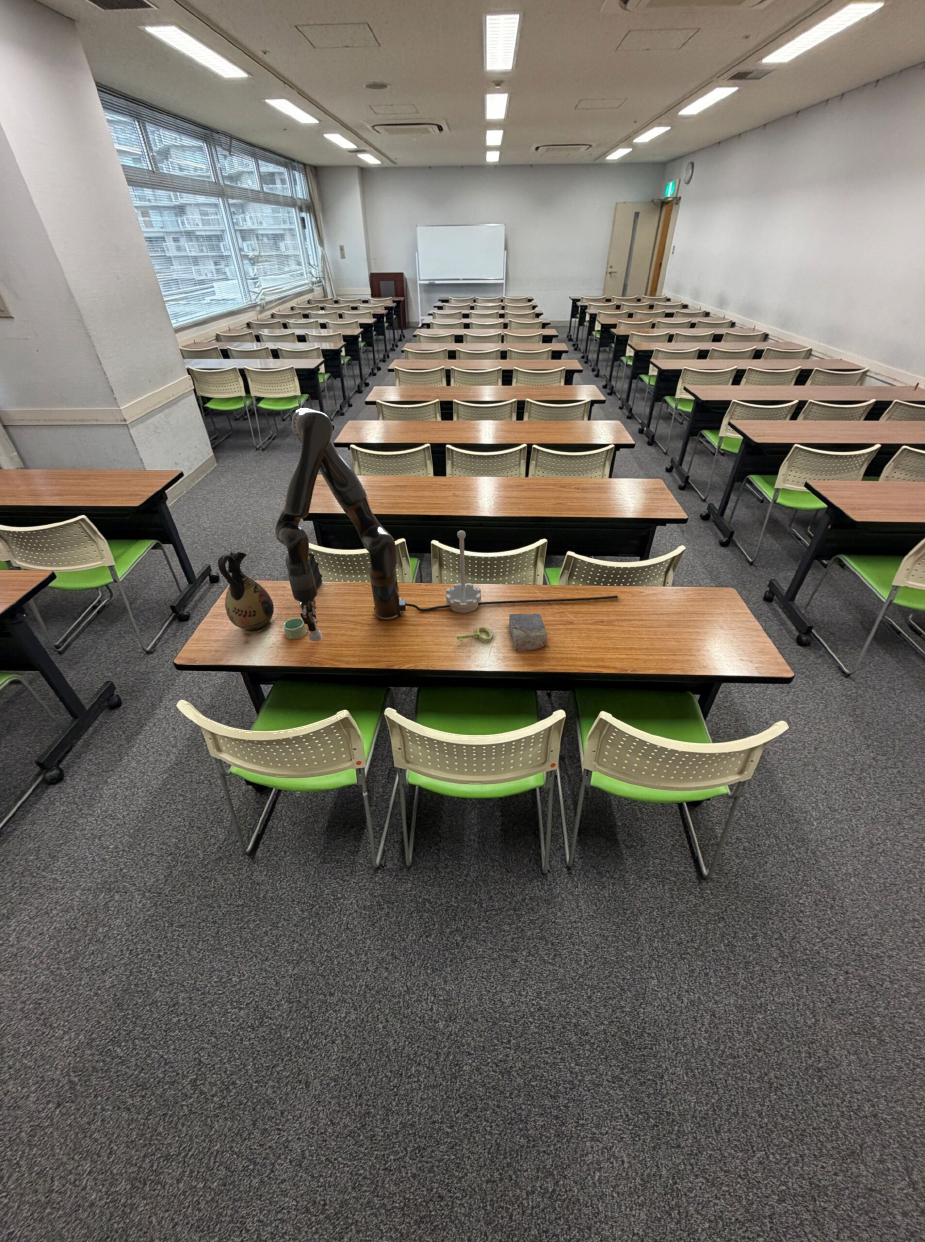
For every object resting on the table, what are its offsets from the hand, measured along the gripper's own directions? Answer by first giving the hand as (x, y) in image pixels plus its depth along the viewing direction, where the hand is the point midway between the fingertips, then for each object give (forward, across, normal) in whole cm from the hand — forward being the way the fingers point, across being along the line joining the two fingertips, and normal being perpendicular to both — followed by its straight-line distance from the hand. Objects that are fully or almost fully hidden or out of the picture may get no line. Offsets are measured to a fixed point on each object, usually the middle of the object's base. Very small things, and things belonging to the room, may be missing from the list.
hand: (313, 627), depth 171 cm
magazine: (+6, +34, +6) cm, 35 cm away
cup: (+6, +6, +8) cm, 12 cm away
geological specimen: (+6, -7, -72) cm, 72 cm away
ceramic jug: (+7, +12, +24) cm, 27 cm away
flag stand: (+6, +16, -52) cm, 55 cm away
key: (+6, -5, -54) cm, 55 cm away
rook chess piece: (+5, 0, 0) cm, 5 cm away
